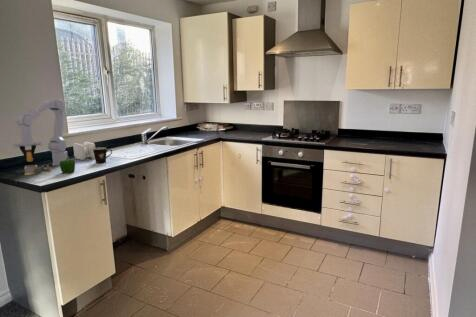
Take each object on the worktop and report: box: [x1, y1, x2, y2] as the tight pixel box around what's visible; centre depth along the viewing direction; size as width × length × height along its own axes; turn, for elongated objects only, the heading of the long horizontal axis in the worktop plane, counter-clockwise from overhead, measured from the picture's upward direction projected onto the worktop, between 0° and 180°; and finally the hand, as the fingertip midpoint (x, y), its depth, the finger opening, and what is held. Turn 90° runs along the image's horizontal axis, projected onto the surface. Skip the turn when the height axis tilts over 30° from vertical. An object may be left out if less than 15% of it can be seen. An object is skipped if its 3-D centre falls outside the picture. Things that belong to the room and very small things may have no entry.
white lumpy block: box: [72, 141, 96, 161], centre depth 237 cm, size 15×11×12 cm
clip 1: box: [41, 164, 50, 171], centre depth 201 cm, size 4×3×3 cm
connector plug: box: [25, 148, 34, 163], centre depth 197 cm, size 3×3×7 cm
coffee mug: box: [93, 146, 113, 165], centre depth 224 cm, size 12×9×10 cm
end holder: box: [24, 164, 38, 174], centre depth 199 cm, size 6×6×3 cm
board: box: [23, 166, 53, 176], centre depth 201 cm, size 14×15×1 cm
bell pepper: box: [59, 156, 76, 175], centre depth 196 cm, size 8×8×10 cm
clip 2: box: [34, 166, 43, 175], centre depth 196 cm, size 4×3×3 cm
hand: (29, 157), depth 198 cm, fingers closed on connector plug, 3 cm apart
